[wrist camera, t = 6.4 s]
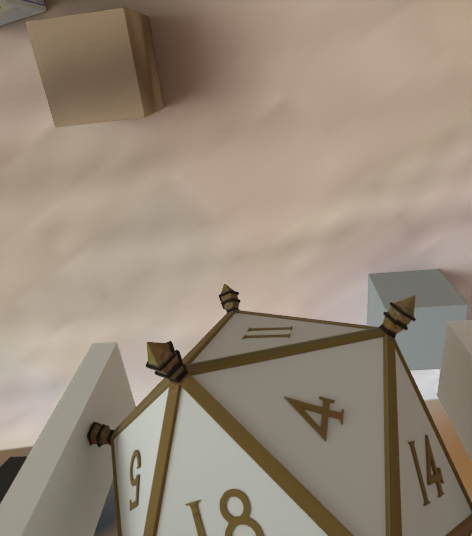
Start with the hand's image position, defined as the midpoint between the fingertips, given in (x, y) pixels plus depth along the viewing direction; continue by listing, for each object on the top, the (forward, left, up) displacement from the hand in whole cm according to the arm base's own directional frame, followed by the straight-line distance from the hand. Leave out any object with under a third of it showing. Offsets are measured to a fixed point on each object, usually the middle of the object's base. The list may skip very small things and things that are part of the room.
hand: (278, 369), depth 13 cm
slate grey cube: (+9, +9, -18) cm, 22 cm away
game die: (0, 0, -1) cm, 1 cm away
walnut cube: (-9, -9, -18) cm, 22 cm away
